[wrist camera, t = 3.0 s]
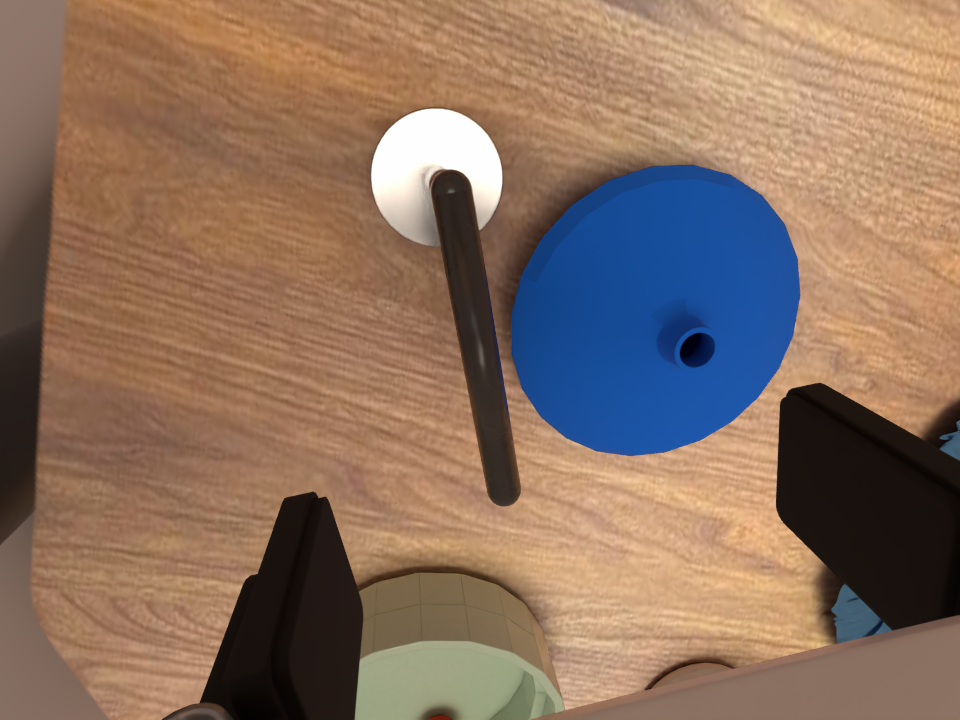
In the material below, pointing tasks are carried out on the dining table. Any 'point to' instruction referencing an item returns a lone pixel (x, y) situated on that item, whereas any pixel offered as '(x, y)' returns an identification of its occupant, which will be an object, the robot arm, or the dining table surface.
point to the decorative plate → (850, 608)
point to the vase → (655, 310)
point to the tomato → (440, 717)
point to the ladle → (455, 253)
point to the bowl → (451, 652)
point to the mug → (690, 673)
